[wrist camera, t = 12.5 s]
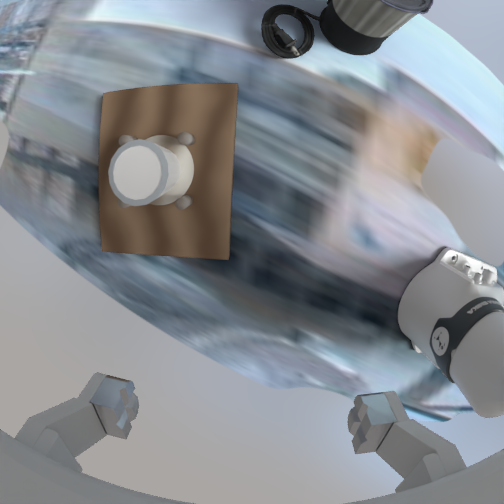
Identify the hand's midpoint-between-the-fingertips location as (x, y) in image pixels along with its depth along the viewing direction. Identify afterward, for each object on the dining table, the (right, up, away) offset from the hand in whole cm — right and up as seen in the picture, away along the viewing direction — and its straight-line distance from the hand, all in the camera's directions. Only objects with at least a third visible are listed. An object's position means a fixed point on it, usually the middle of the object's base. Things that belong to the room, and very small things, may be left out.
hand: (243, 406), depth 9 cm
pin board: (-11, +16, +26) cm, 32 cm away
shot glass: (-11, +15, +24) cm, 31 cm away
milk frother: (+10, +35, +20) cm, 41 cm away
